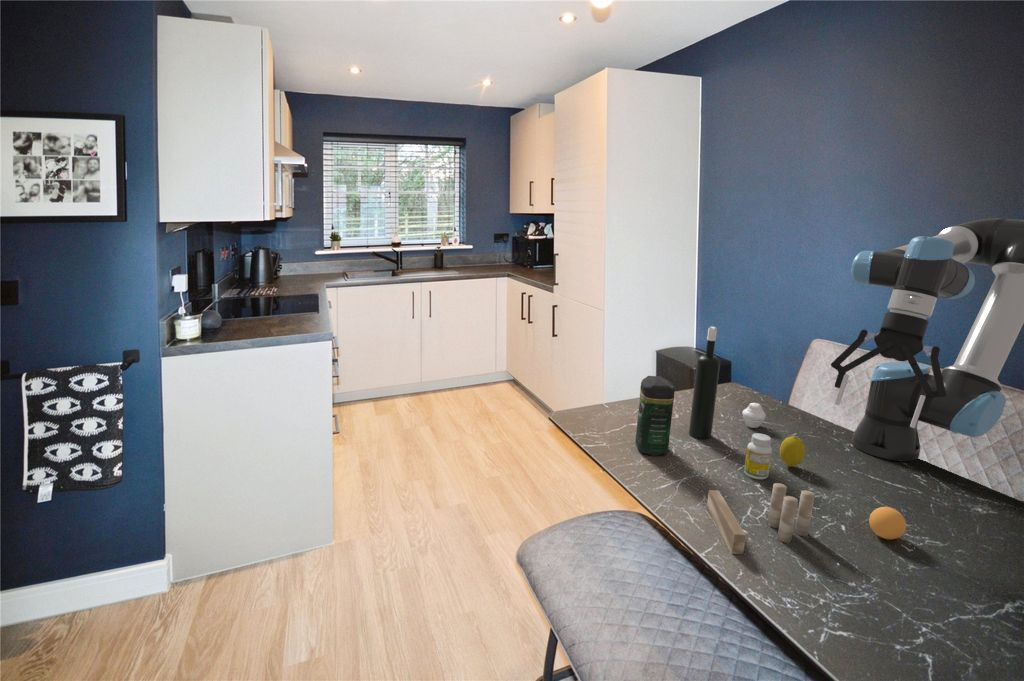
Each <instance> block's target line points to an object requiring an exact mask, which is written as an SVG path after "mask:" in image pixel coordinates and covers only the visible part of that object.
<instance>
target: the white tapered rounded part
mask: <svg viewBox="0 0 1024 681" xmlns="http://www.w3.org/2000/svg"><path fill="white" fill-rule="evenodd" d="M741 414H742V418H743V420H744V422H745V425H746V426H747V427H748V428H750V429H758V428H759V427H761V425H762V424H763V422H764V421H765V419H766V417H767V415H766V412H765V411H764V409H763V406H762V405H761V404H760V403H758V402H751V403H749V404H748V406H747V407H746V408H744V409H743V410H742V413H741Z"/></svg>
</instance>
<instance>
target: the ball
mask: <svg viewBox="0 0 1024 681" xmlns="http://www.w3.org/2000/svg"><path fill="white" fill-rule="evenodd" d="M868 521H869V526H870V529H871V530H872V531H873V533H874V534H876V535H877V536H878V537H879V538H882V539H886V540H895V539H898V538H901V537H902V536H903V535H904V534H905V532H906V529H907V522H906V520H905V517H904V516H903V515H902V513H901V512H899V511H898V510H897V509H895V508H892V507H891V506H881V507H878V508H875V509H874V510H873V511H872V512H871V513H870V515H869V520H868Z"/></svg>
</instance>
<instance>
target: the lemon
mask: <svg viewBox="0 0 1024 681" xmlns="http://www.w3.org/2000/svg"><path fill="white" fill-rule="evenodd" d="M779 456H780V459H781V461H782V462H783V463H784V464H786V465H787V466H788V467H793V466H798V465H799V464H801V463H802V462H803V461H804V459H805V456H806V446H805V443H804V441H803V440H802V439H800V438H799V437H798V436H797V435H793V436H788V437H786V438H784V440H783V441H782V442H781V445H780V447H779Z"/></svg>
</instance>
